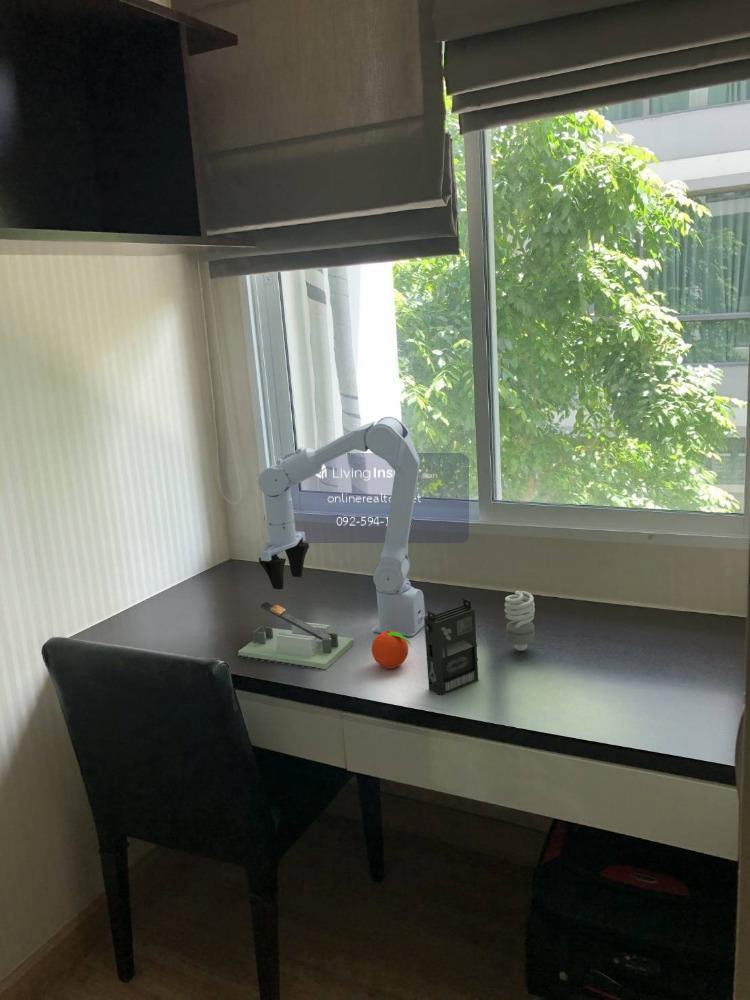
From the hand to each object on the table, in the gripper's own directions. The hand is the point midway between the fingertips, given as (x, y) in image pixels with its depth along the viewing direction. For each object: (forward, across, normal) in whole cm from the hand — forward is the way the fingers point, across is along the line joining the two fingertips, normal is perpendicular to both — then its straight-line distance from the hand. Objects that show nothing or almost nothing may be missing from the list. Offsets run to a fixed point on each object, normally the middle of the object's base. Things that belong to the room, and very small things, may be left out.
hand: (287, 582), depth 172 cm
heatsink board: (+10, +10, +7) cm, 16 cm away
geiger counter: (+11, +14, +42) cm, 46 cm away
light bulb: (+11, -2, +50) cm, 51 cm away
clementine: (+10, +11, +29) cm, 33 cm away
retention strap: (+4, +10, +8) cm, 14 cm away
